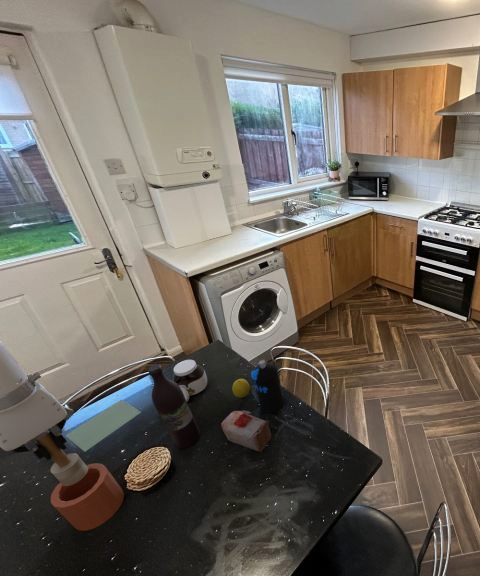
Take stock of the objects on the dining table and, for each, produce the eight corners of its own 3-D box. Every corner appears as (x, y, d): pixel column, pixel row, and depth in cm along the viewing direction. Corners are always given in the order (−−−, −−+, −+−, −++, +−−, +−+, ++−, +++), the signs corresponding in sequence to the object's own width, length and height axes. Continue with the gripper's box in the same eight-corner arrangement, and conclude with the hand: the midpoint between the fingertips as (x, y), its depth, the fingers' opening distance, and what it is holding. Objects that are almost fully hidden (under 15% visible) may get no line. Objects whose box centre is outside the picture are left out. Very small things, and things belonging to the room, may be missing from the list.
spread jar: (209, 378, 120) (201, 355, 114) (208, 400, 111) (199, 376, 105) (173, 388, 115) (163, 364, 110) (169, 411, 106) (157, 387, 101)
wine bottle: (173, 452, 93) (135, 381, 79) (176, 433, 99) (141, 363, 84) (200, 444, 96) (167, 372, 81) (201, 425, 102) (171, 356, 87)
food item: (222, 442, 96) (214, 421, 92) (240, 421, 103) (233, 401, 98) (259, 456, 93) (252, 435, 88) (275, 433, 99) (270, 412, 94)
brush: (67, 489, 71) (31, 449, 64) (57, 480, 73) (21, 440, 66) (92, 471, 75) (60, 431, 68) (82, 462, 77) (50, 422, 69)
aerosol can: (277, 391, 114) (268, 349, 104) (288, 404, 109) (279, 362, 99) (256, 404, 109) (243, 361, 99) (266, 418, 104) (255, 375, 94)
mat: (85, 453, 93) (84, 452, 93) (65, 436, 98) (65, 435, 98) (141, 413, 106) (141, 412, 105) (122, 400, 110) (121, 399, 110)
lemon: (232, 401, 110) (226, 385, 106) (240, 389, 115) (236, 373, 111) (246, 403, 110) (241, 387, 106) (254, 391, 114) (250, 375, 110)
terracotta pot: (86, 539, 74) (63, 516, 69) (65, 517, 78) (42, 493, 73) (132, 498, 82) (114, 474, 77) (111, 480, 86) (93, 456, 81)
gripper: (49, 362, 68) (88, 418, 77) (-65, 417, 56) (-3, 476, 65) (66, 373, 65) (104, 430, 74) (-51, 434, 53) (12, 493, 62)
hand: (54, 451), depth 69 cm, fingers closed on brush
